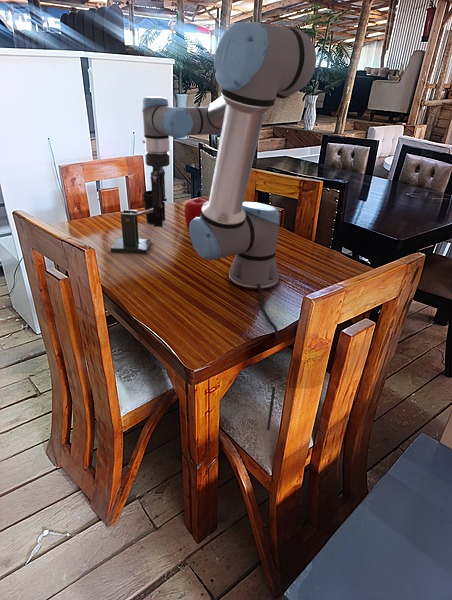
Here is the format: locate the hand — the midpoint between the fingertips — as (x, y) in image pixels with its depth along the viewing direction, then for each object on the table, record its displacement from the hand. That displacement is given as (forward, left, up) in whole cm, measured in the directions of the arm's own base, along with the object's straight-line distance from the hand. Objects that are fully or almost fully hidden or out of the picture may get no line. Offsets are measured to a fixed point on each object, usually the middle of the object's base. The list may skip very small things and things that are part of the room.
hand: (159, 223), depth 136 cm
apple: (+19, -12, -10) cm, 24 cm away
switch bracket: (0, +10, -9) cm, 14 cm away
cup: (+29, +7, -10) cm, 31 cm away
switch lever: (0, +5, +2) cm, 5 cm away
